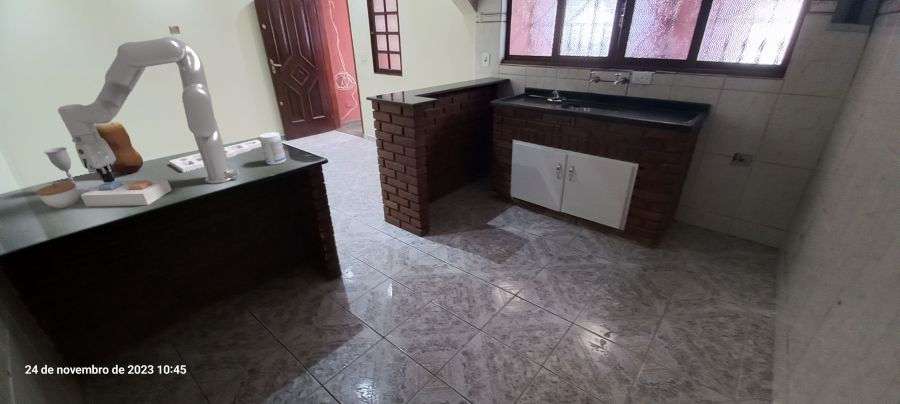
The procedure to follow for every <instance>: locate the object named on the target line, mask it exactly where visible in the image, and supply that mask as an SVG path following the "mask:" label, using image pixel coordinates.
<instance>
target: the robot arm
mask: <svg viewBox="0 0 900 404" xmlns="http://www.w3.org/2000/svg"><path fill="white" fill-rule="evenodd" d="M116 54H117V55H115V58H114V60H113V61H112V64H110V66H109V68H108V69H107V71H106V73H105V76H104V84H103V86H102V89H101V90H100V92H99V94H98V95H97V97H96V99H95V100H94V101H93V102H92V103H90V104H87V105H85V104H84V105H83V104H79V103H75V104H68V105H67V104H66V105H62V106H60V107H58V108H57V112H58V114H59V115H60V118H61V120H62V121H63V123H64V125H65V127H66V128H67V131H68V132H69V135H70V136H71V138H72V139H71V141H72V142H73V143H74V147H75V150H76V153H77V156H78V158H79V160H80V162H81V164H82V166H83V168H84V169H87V171H88V173H91V174H93V173H96V174H98V175H100V178H101V180H102V181H103V183H106V182H113V181H116V180H115V178H114V176H113V173H112V171H111V165H113V164H114V162H115V161H116V157H115V155H114V153H113V152H112V150H111V148H110V147H109V145H108V144H107V142H106V141H105V140H104V139H103V138H101V137H100V135H99V133H98V131H97V129H96V127H95V124H103V123H108V122H112V120H114V118H116V116H117V115H118V113H119V112H120V111H121V109H122V108H123V107H124V106H123V105H124V104H125V102H126V100H127V99H128V97H129V95H130V94H131V92H133V90H134V89H135V87H136V85H137V83H138V81H139V80H140V78H141V77H142V75H143V74H144V71H145V70H146V69H147V68H148V67H155V66H159V65H160V66H161V65H167V64H168V65H169V64H174V63H175V64H176V65H177V68H178V71H179V75H180V79H181V85H182V95H181V98H182V104H183V109H184V114H185V118H186V122H187V126H188V129H189V131H190V132H191V133H192V134H193V136H194V140H195V142H196V145H197V148H198V152H199V153H200V155H201V158H200V159H201V160H203V163H204V166H203V167H204V169H205V172H206V175H207V176H206V177H205V178H204V181H205V183H207V184H213V185H214V184H222V183H226V182H229V181H232V180H234V179H236V177H237V176H240V170H239V169H234V167H233V166H231V165H230V163H229V159H228V158H227V156H226V153H225V149H224V147H225V146H224V143H223V139H222V136H221V134H220V130H219V127H218V123H217V120H216V118H215V114H214V113H215V112H214V109H213V103H212V96H211V93H210V91H209V86H208V81H207V77H206V73H205V70H204V65H203V62H202V60H201V58H200V57H199V54H198V53H197V52H196V51H195V50H194V49H193V48H192V47H191V46H190V45H189V44H187V43H185V42H183V41H181V40H179V39H177V38H176V37H175V38H174V37H171V36H165V37H162V38H156V39H148V40H140V41H128V42H127V41H126V42H124V43H121V44H120V45H119V46H118V48H117V52H116Z"/></svg>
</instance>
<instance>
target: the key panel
mask: <svg viewBox="0 0 900 404" xmlns="http://www.w3.org/2000/svg"><path fill="white" fill-rule="evenodd" d="M120 181H121V184H122V186H120V187H118V188H116V189H114V190H107V191H100V190H99V188H98V186H96V187H95V188H92V189H91V190H89V191H86V192H84V193H82V194H80V197H81V198H82V201H83V202H84V205H85V206H86V207H111V206H112V207H117V206H118V207H119V206H149V205H151V204H153V203H154V202H155V201H157V200H158V199H160V198H162V197H164V195H166V194H167V193H168V194H169V192H171V191H172V187H171V185H170V182H169V180H168V179H142V180H141V179H139V180H133V179H132V180H120ZM137 181H150V182H151V184H152V185H150V186H148V187H147V188H145V189H143V190H130V189H129V185H131V184H133V183H135V182H137Z"/></svg>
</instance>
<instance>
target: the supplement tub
mask: <svg viewBox="0 0 900 404" xmlns="http://www.w3.org/2000/svg"><path fill="white" fill-rule="evenodd" d="M259 141H260V142H261V145H262V147H261V149H262V152H263V155H264V158H265V159H264V160H265V163H266V164H267V165H271V166H272V165H273V166H274V165H281V164H283V163H285V162H286V161H287V156H286V153H285V150H284V145H283V141H282V138H281V134H280V133H279V132H276V131H274V132H273V131H271V132H265V133H262V134H260V135H259Z"/></svg>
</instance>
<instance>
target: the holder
mask: <svg viewBox="0 0 900 404" xmlns="http://www.w3.org/2000/svg"><path fill="white" fill-rule="evenodd" d="M257 148H262V145H261V142H260V140H259V139H252V140H250V141H244V142H241V143H237V144H233V145H228V146H224V149H225V153H226V156H227V159H228V158H233V157H236V156H237V155H239V154H244V153H246V152H251V150H255V149H257ZM200 159H201V160H200ZM168 161H169V165H170V166H172V167H174V168H175V169H177V170H179V172H182V173H187V172H190V170H191V171H193V170H198V169H201V167H202V168H204V167H205V166H204V163H203V160H202V158H201V155H200V152H199V153H195V154H190V155H186V156H183V157H178V158H175V159H170V160H168ZM197 168H198V169H197ZM186 171H187V172H186Z"/></svg>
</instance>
